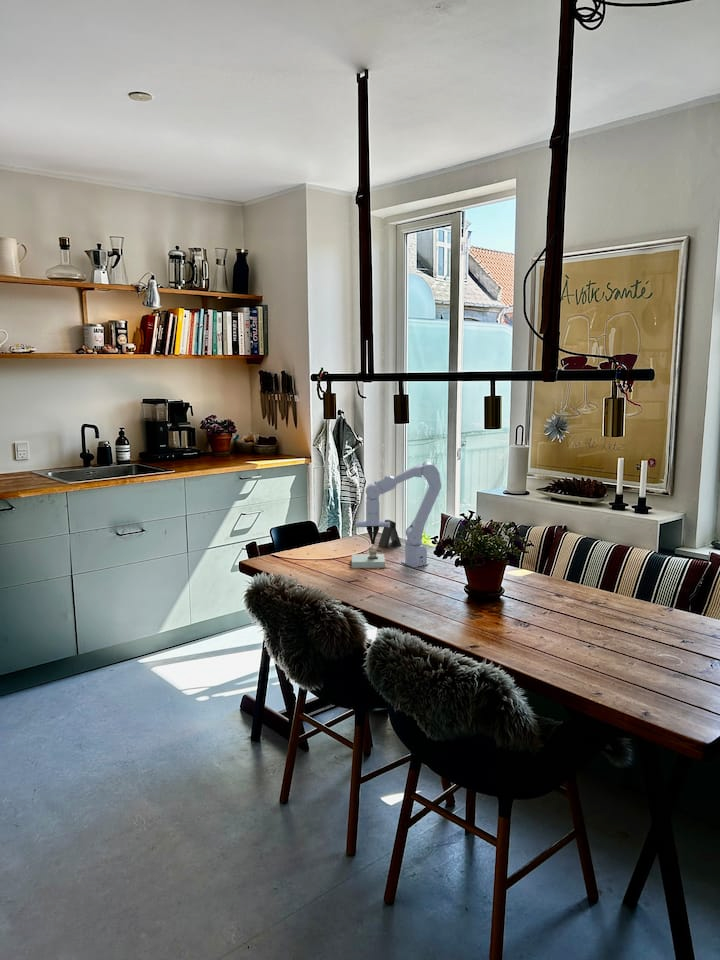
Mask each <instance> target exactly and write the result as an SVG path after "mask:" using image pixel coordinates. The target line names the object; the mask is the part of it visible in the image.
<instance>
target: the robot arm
mask: <svg viewBox="0 0 720 960" xmlns="http://www.w3.org/2000/svg"><path fill="white" fill-rule="evenodd" d="M414 477H416V478H419V479H420V478H421V479H423V478H425V479H426V482H427V484H428V488H427V490H426V493H425V495H424V497H423V499H422V501H421V504H420V505H419V508H418V510H417V512H416V515H415V517H414V519H413V520H412V521H411V524H410V525H409V526H408V527H407V528H406V529H405V536H406V540H405V544H404V545H405V547H404V553H405V554H404V560H401V561H400V563H401V564H405V565H407V566H409V567H411V568H418V566H419V567H422V566H423V565H424V566H428V565H429V563H428V562H427V561H428V549H427V548H426V547H425V546H424V545H423V541H422V540H423V532H424V529H425V525H426V523H427V520H428V518H429V516H430V514H431V512H432V509H433V507H434V505H435V502H436V500H437V497H438V496H439V493H440V491H441V490H442V482H441V481H442V480H441V476H440V472H439V470H438V468H437V467H436V466H435V464H434V463H433V462H431V461H425V462H423V463H419V464H417V465H414V466H413V467H411V468H409V469H407V470H405V471H403V472H401V473H399V474H397V475H395V476H391V475H389V476H387V475H385V476H384V478H382V479H380V480H378V481H374V482H373V483H370V484H368V485H367V486H366V488H365V495H366V498H365V499H366V500H365V521H356V522H355V528H366V531H367V534H368V536H369V539H370V544H371V545H375V542H376V538H377V535H378V533H379V530H380V528H384V527H390V522H384V521H381V520H380V498H379V497H380V496H381V495H384V494H386V493H388V492H391V491H392V490H394V489H396V487H397V485H398V484H400V483H403V482H405V481H407V480H410V479H412V478H414Z"/></svg>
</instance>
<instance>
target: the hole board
mask: <svg viewBox="0 0 720 960" xmlns="http://www.w3.org/2000/svg"><path fill="white" fill-rule="evenodd" d="M369 557H370V554H369V553H365V554H362V553H360V554H359V553H355V554H354V553H352V554H351V569H361V568H362V569H375V568H376V569H377V568H379V569H382V568H383V569H385V568H386V558H385V554H384V553H380V554H379V553H376V559H369Z"/></svg>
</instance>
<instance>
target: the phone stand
mask: <svg viewBox="0 0 720 960" xmlns="http://www.w3.org/2000/svg"><path fill="white" fill-rule="evenodd" d="M383 522H390V527H383V529H382V532H381V536H380V538H379V541H378V542H379V543H378V546H379V547H382V548H384V549H387V548H395V547H396V548H397V547H402V543H401V540H400V537H399V535H398V530H397V529H396V525H397V524H396V522H395V521H393V520H390V519H385V520H384V521H383ZM390 539H391V542H390Z"/></svg>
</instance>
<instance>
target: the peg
mask: <svg viewBox="0 0 720 960" xmlns="http://www.w3.org/2000/svg"><path fill="white" fill-rule="evenodd" d="M368 547H369V546H368ZM377 549H378V548H377V547H375V546H370V547H369V548H368V554H370V557H369V559H376V554H378V553H377Z"/></svg>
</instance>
